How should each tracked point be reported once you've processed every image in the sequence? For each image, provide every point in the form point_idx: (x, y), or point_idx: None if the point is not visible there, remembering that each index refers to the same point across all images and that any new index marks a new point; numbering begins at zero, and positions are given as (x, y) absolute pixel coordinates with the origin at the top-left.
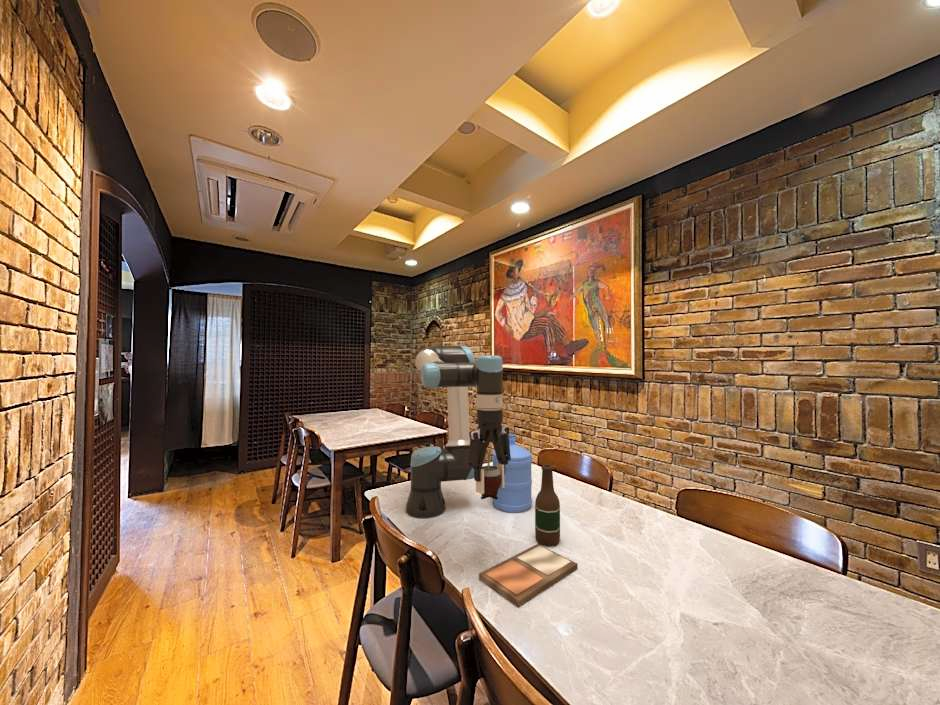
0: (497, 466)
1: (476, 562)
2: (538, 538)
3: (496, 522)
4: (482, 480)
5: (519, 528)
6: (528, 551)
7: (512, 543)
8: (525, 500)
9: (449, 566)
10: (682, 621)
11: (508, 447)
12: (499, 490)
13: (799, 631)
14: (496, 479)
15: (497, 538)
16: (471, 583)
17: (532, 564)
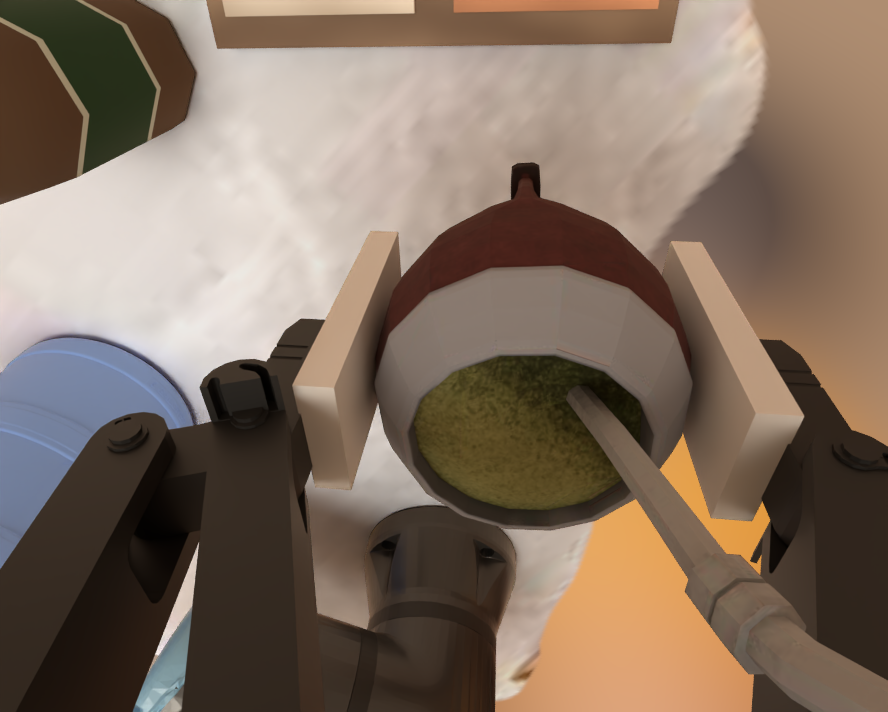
0: (357, 439)
1: (563, 162)
2: (184, 82)
3: (262, 346)
4: (738, 322)
5: (197, 248)
6: (319, 15)
7: (312, 172)
8: (48, 365)
9: (673, 217)
10: None
11: None
12: None
13: None
14: (562, 235)
15: (344, 249)
16: (716, 37)
17: None
